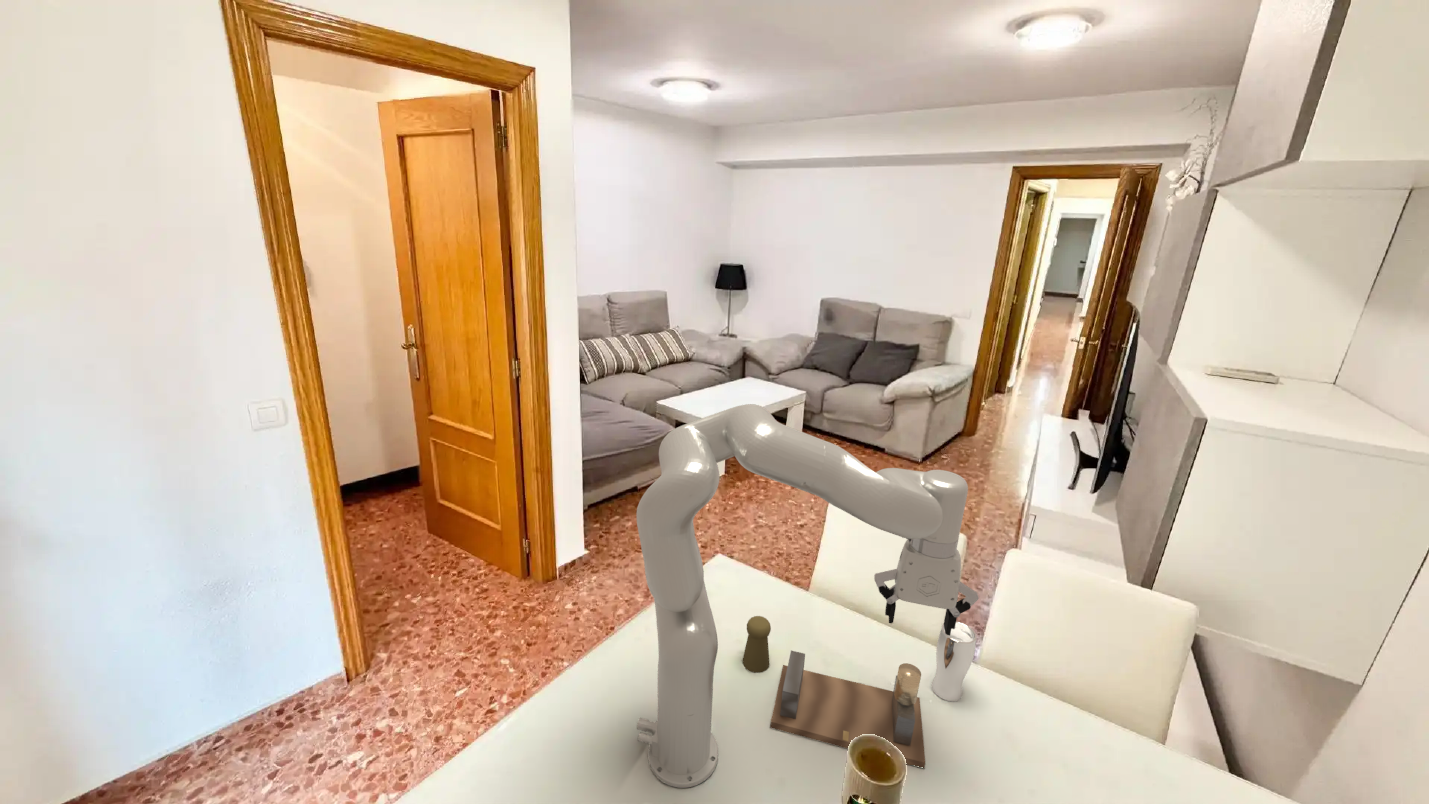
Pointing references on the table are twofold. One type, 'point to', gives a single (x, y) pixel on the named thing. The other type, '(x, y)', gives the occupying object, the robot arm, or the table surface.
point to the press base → (838, 710)
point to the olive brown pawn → (757, 645)
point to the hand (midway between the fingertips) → (918, 624)
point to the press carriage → (905, 702)
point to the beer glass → (953, 661)
